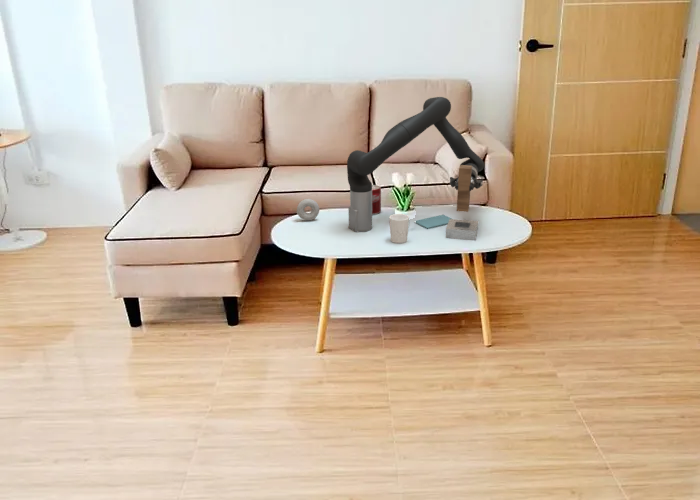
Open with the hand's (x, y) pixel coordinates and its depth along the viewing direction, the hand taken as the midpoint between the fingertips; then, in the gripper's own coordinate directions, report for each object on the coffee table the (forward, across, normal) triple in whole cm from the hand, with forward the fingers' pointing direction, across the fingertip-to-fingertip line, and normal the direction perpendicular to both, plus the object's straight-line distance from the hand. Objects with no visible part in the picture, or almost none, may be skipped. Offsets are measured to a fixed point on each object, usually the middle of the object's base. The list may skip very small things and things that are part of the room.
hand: (463, 188), depth 249 cm
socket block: (-3, 0, +21) cm, 21 cm away
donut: (-4, -68, +21) cm, 71 cm away
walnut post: (-3, 0, +10) cm, 10 cm away
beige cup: (+10, -24, +21) cm, 33 cm away
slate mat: (-14, -12, +21) cm, 28 cm away
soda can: (-21, -42, +21) cm, 52 cm away
